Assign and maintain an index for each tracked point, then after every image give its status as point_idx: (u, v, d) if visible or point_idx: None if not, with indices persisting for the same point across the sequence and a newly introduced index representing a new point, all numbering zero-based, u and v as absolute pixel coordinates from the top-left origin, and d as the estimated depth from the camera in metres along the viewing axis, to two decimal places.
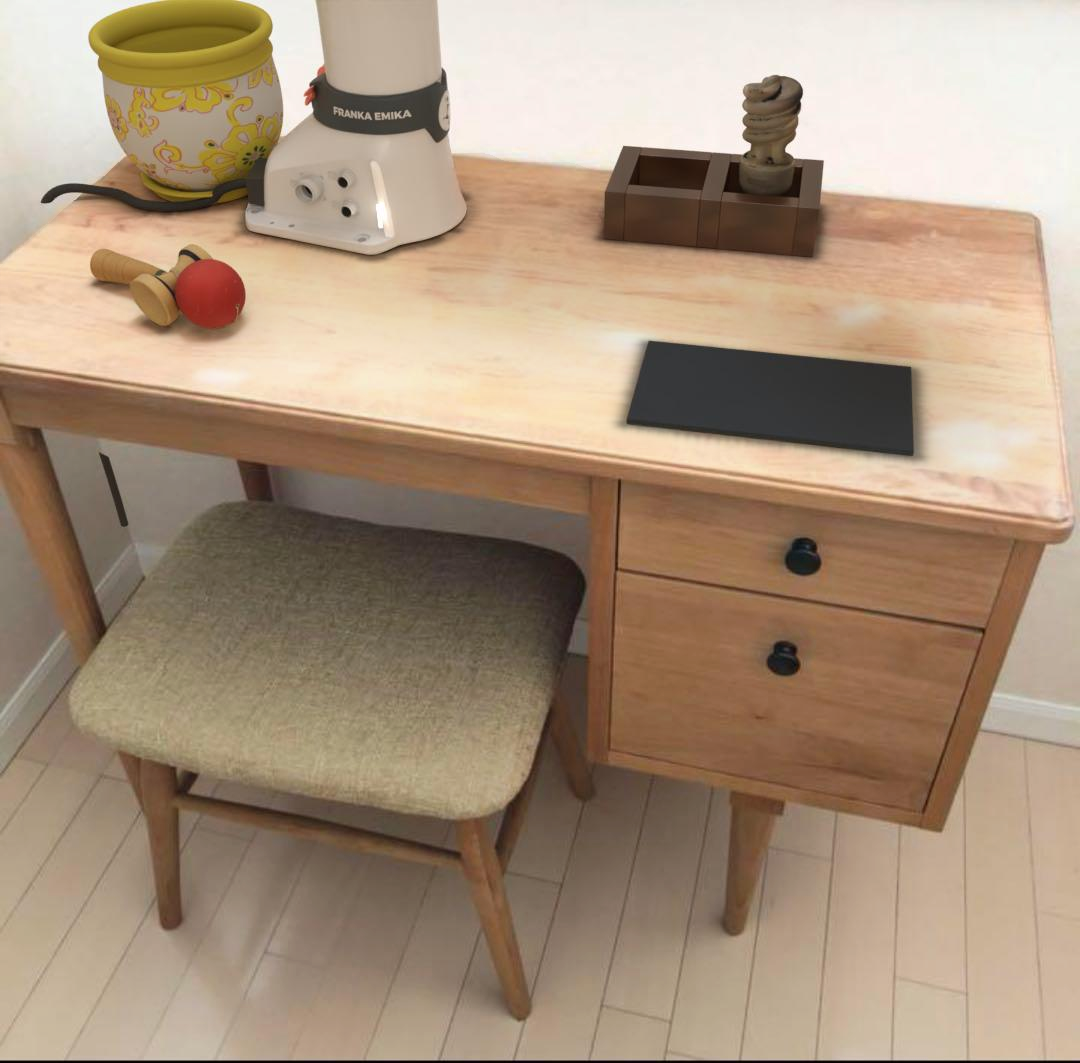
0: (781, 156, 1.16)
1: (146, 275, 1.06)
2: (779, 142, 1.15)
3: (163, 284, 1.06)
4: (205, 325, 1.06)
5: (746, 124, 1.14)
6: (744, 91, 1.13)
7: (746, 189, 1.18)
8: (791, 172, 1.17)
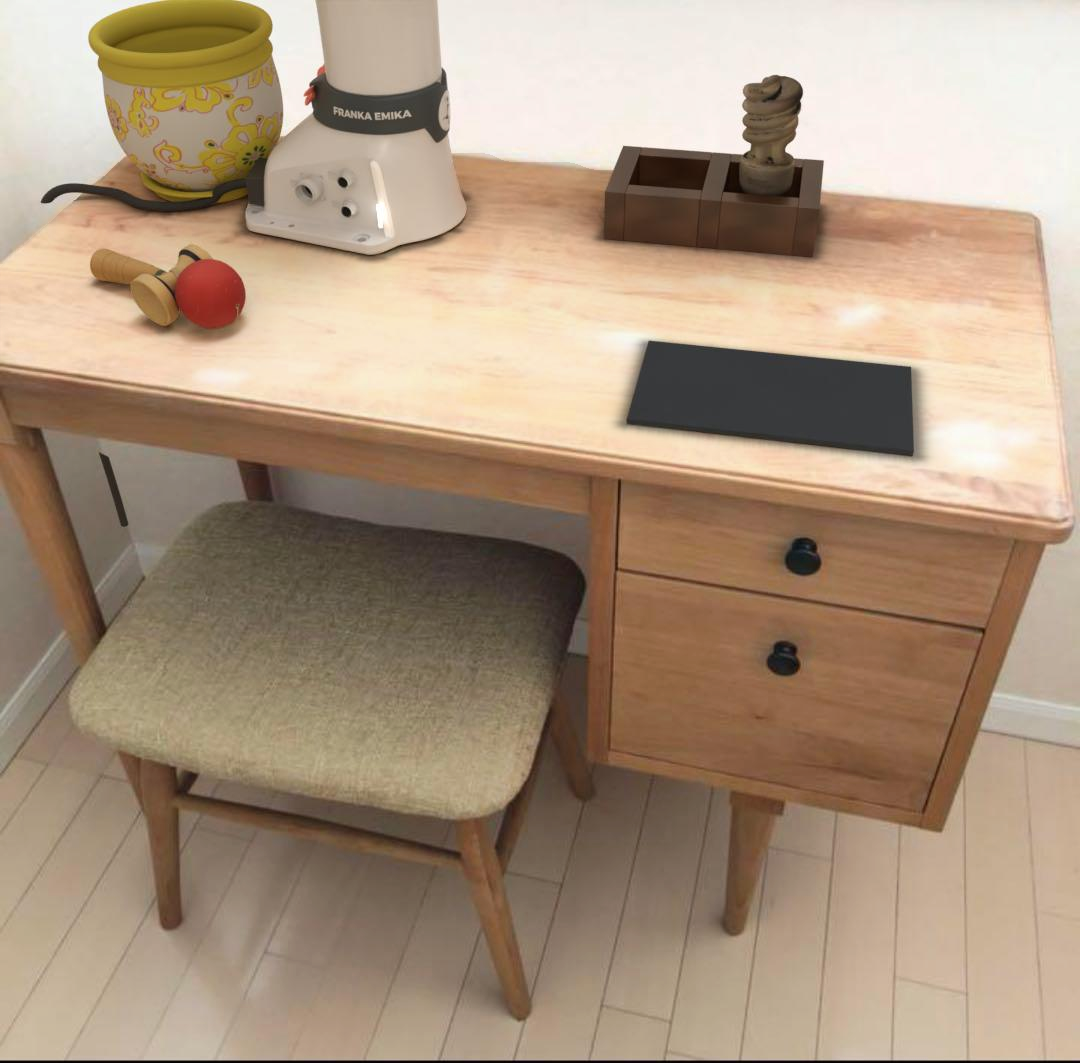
0: (781, 156, 1.16)
1: (146, 275, 1.06)
2: (779, 142, 1.15)
3: (163, 284, 1.06)
4: (205, 325, 1.06)
5: (746, 124, 1.14)
6: (744, 91, 1.13)
7: (746, 189, 1.18)
8: (791, 172, 1.17)
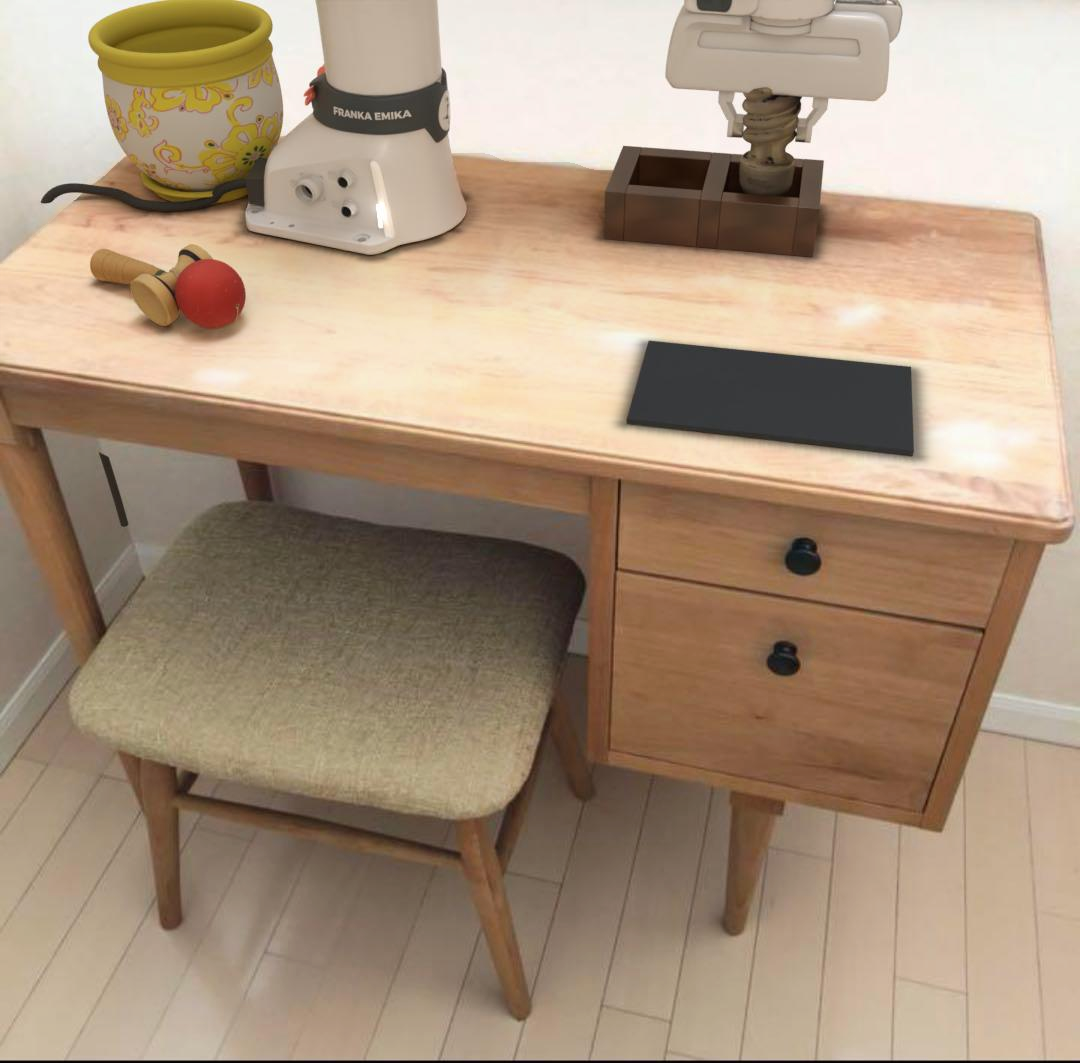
0: (781, 156, 1.16)
1: (146, 275, 1.06)
2: (779, 142, 1.15)
3: (163, 284, 1.06)
4: (205, 325, 1.06)
5: (746, 124, 1.14)
6: None
7: (746, 189, 1.18)
8: (791, 172, 1.17)
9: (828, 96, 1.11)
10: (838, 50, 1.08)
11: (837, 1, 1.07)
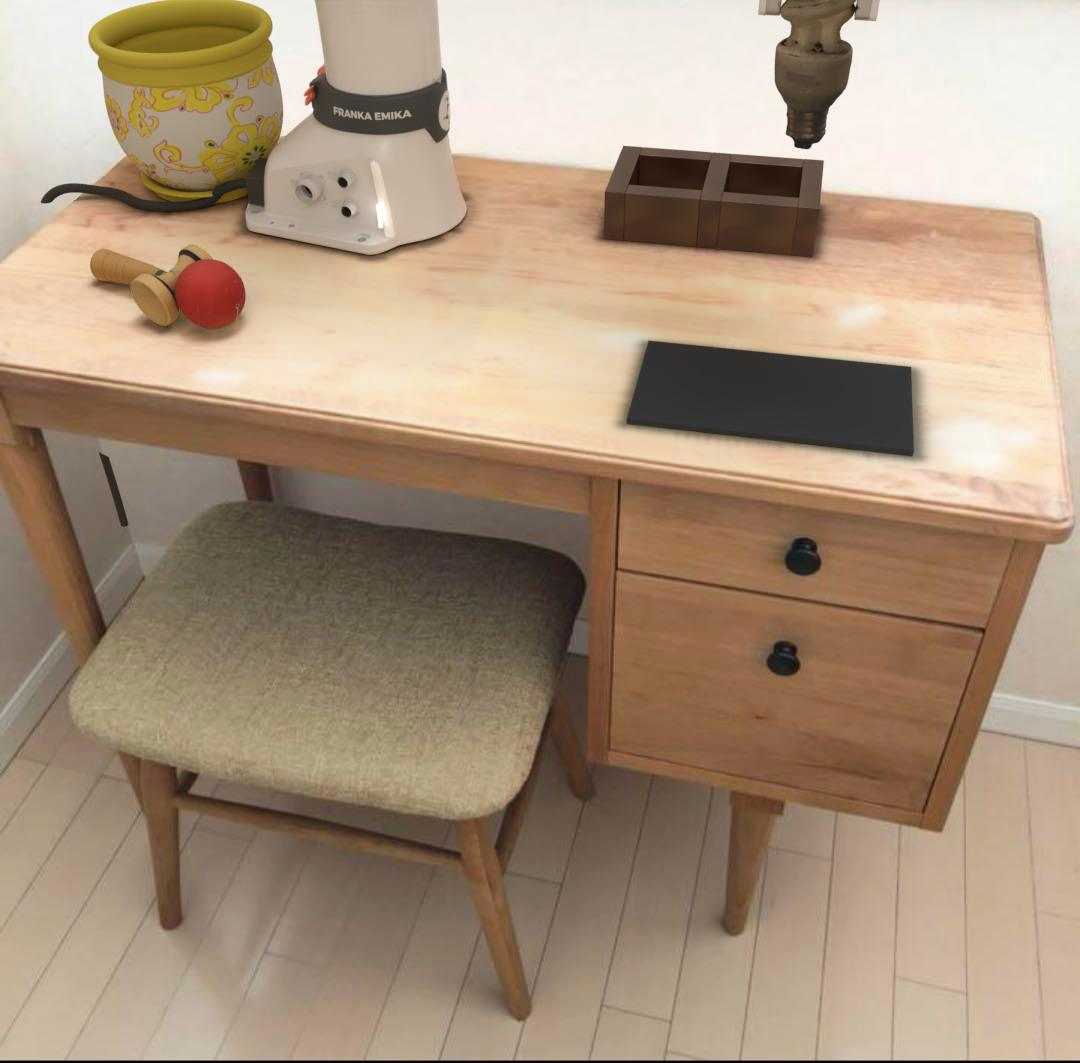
0: (834, 41, 0.83)
1: (146, 275, 1.06)
2: (832, 20, 0.82)
3: (163, 284, 1.06)
4: (205, 325, 1.06)
5: None
6: None
7: (784, 90, 0.85)
8: (848, 64, 0.83)
9: None
10: None
11: None
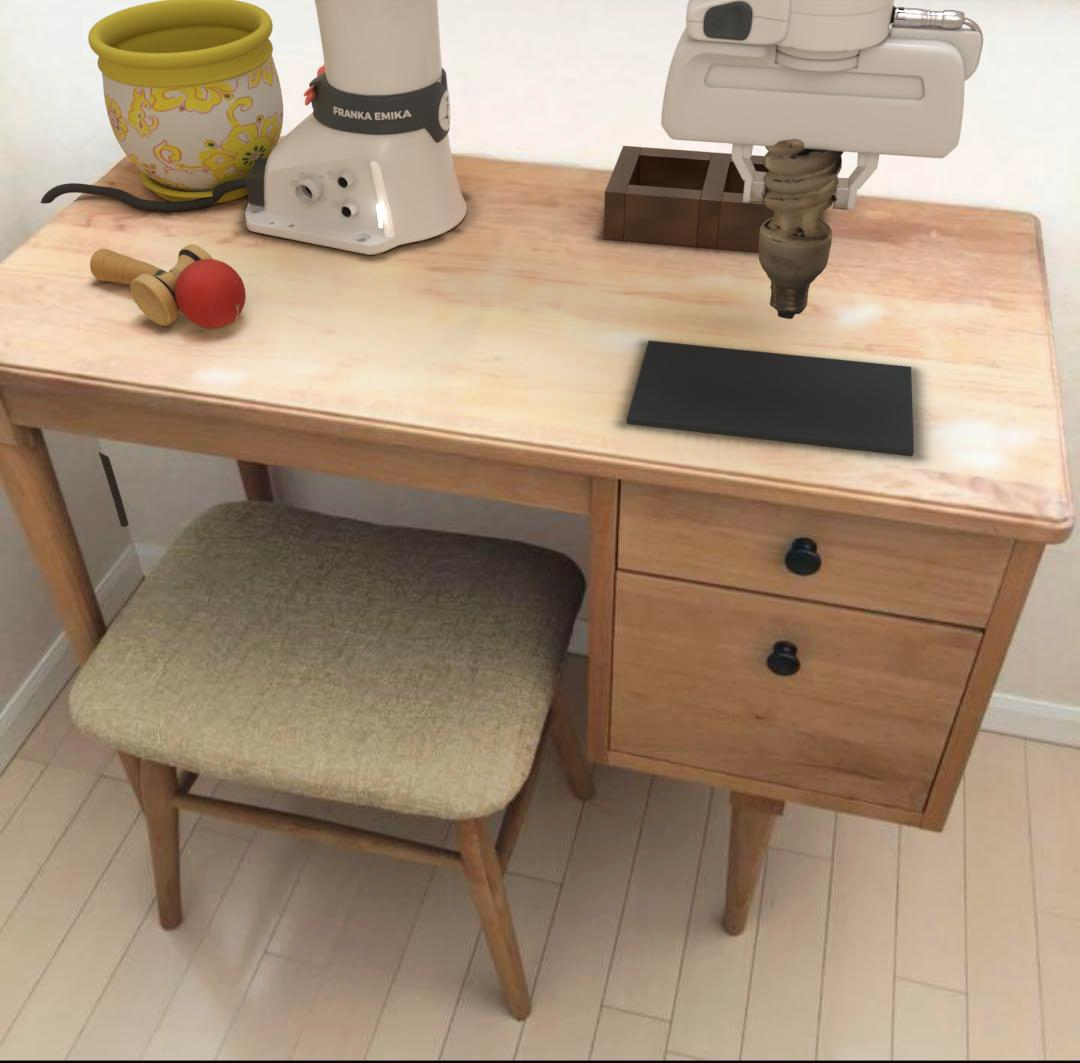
0: (814, 227, 0.88)
1: (146, 275, 1.06)
2: (812, 209, 0.87)
3: (163, 284, 1.06)
4: (205, 325, 1.06)
5: (769, 186, 0.86)
6: None
7: (768, 269, 0.90)
8: (827, 248, 0.89)
9: (879, 151, 0.83)
10: (895, 91, 0.80)
11: (894, 25, 0.79)
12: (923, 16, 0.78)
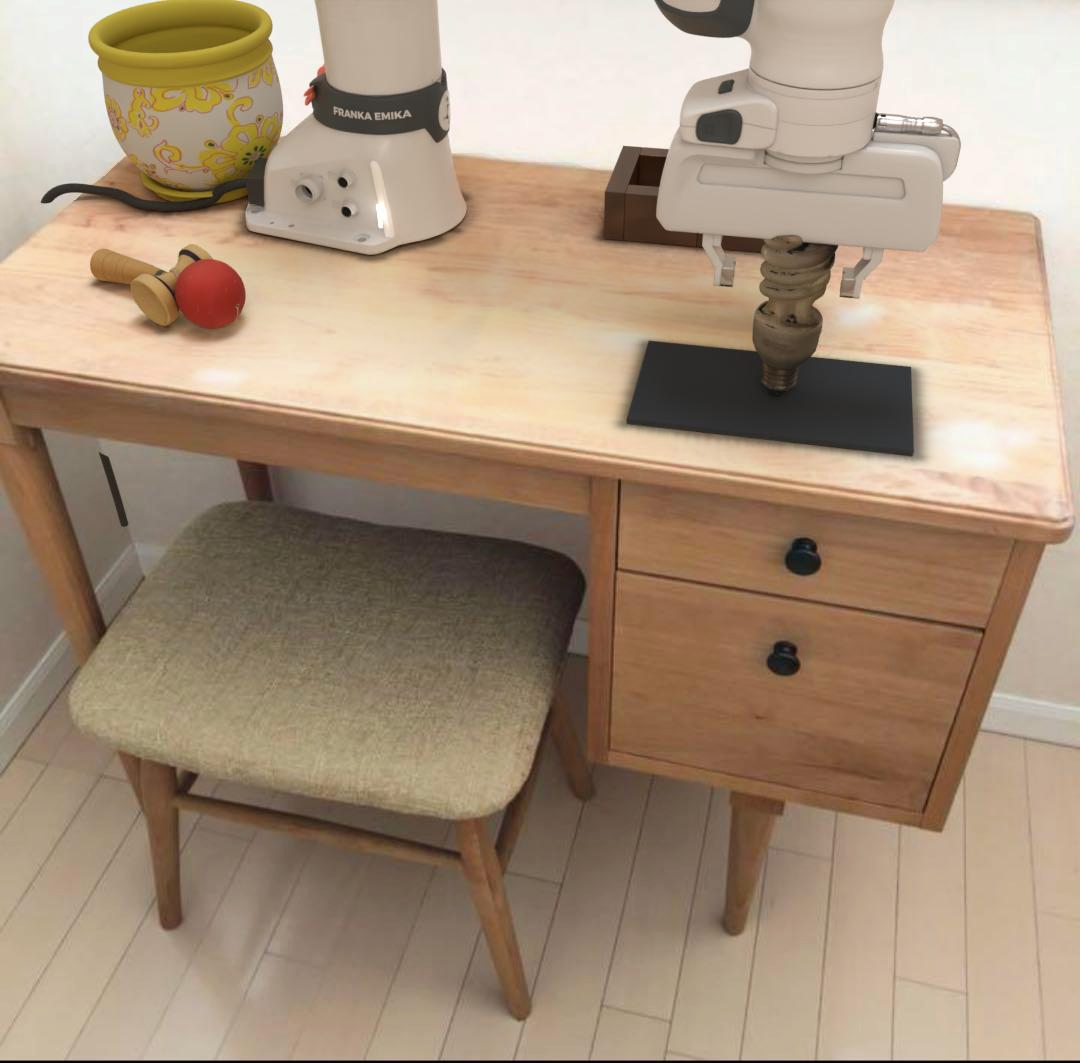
0: (807, 315, 0.93)
1: (146, 275, 1.06)
2: (805, 299, 0.92)
3: (163, 284, 1.06)
4: (205, 325, 1.06)
5: (765, 276, 0.91)
6: None
7: (761, 351, 0.94)
8: (818, 334, 0.93)
9: (863, 245, 0.87)
10: (877, 191, 0.85)
11: (876, 130, 0.83)
12: (903, 122, 0.82)
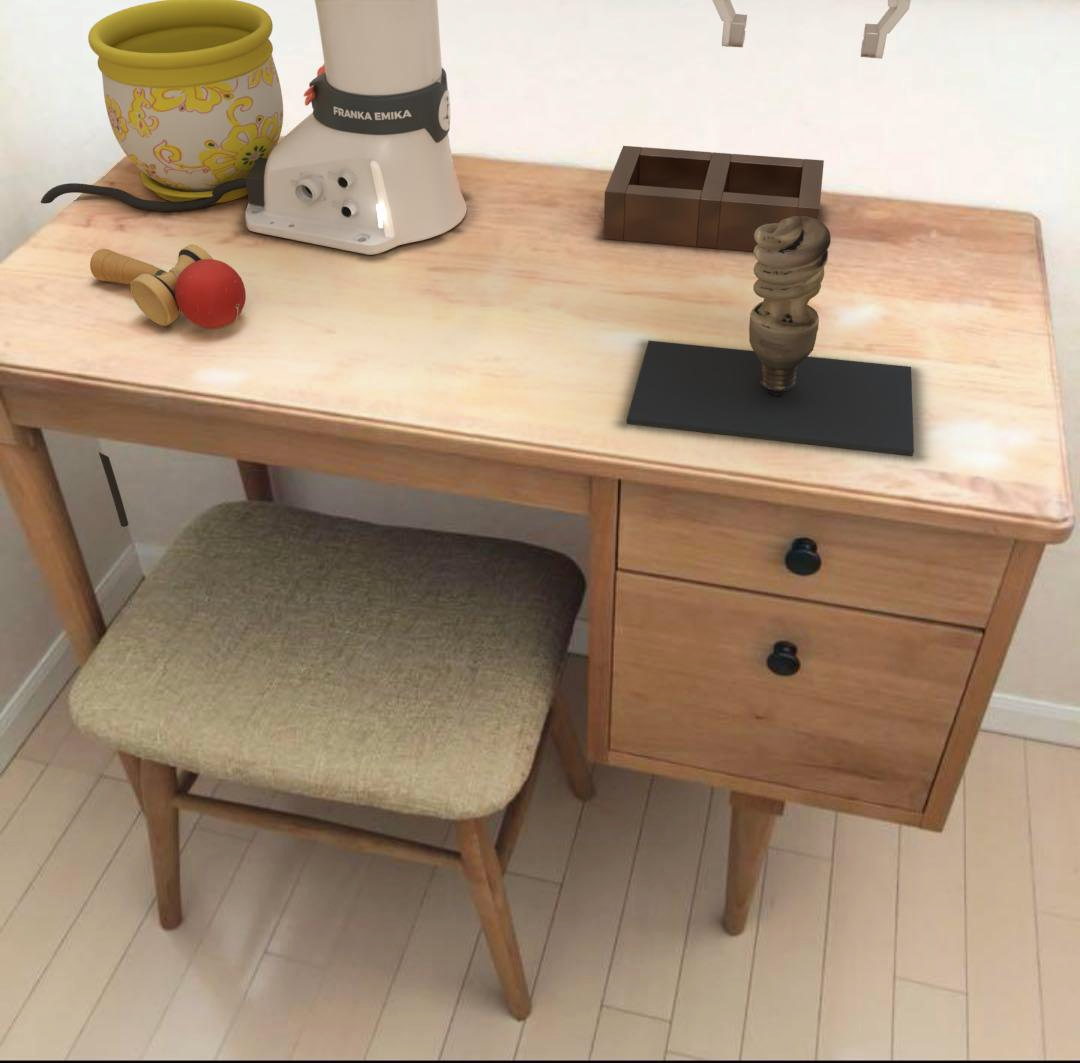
0: (802, 314, 0.93)
1: (146, 275, 1.06)
2: (800, 298, 0.92)
3: (163, 284, 1.06)
4: (205, 325, 1.06)
5: (758, 276, 0.91)
6: (756, 237, 0.89)
7: (758, 352, 0.94)
8: (814, 333, 0.93)
9: None
10: None
11: None
12: None
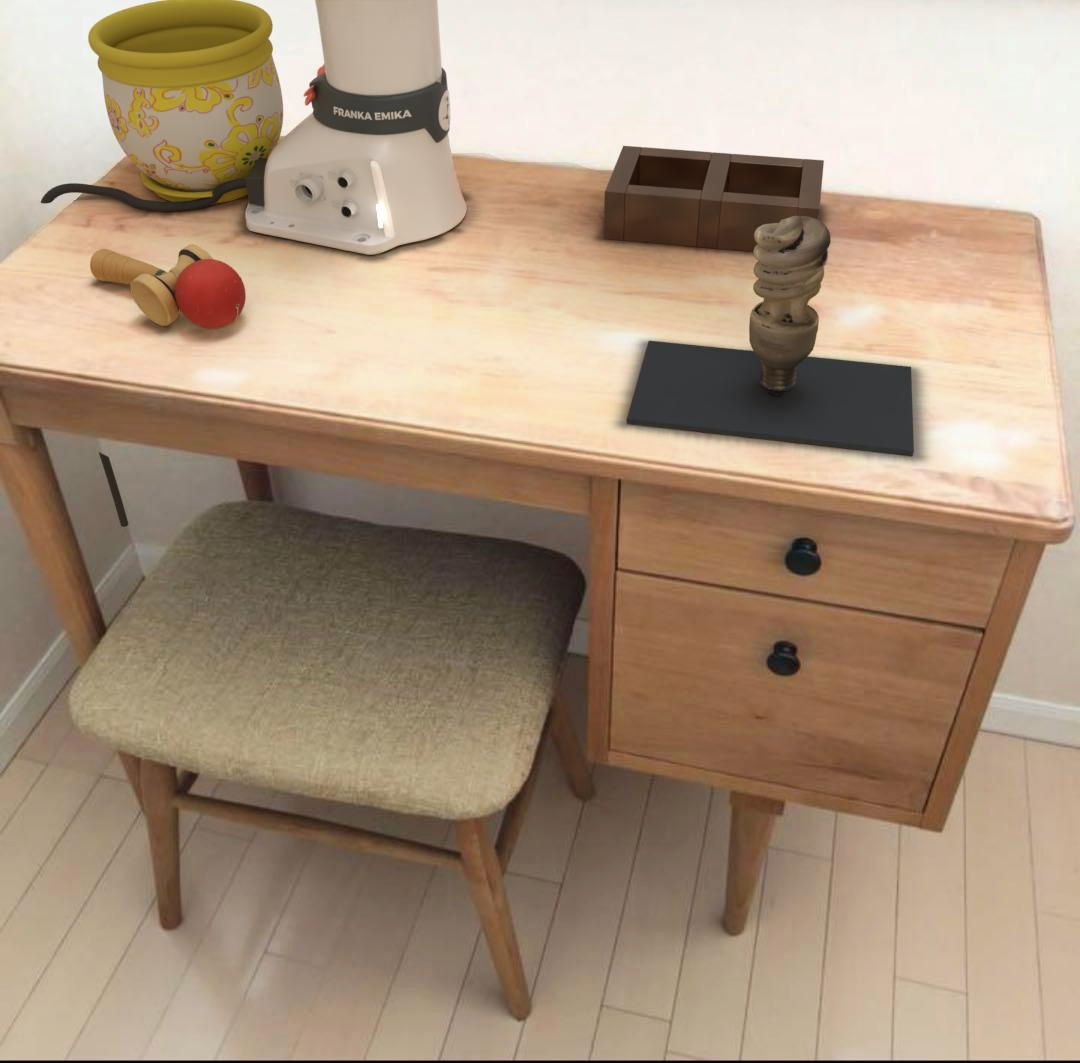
0: (802, 314, 0.93)
1: (146, 275, 1.06)
2: (800, 298, 0.92)
3: (163, 284, 1.06)
4: (205, 325, 1.06)
5: (758, 276, 0.91)
6: (756, 237, 0.89)
7: (758, 352, 0.94)
8: (814, 333, 0.93)
9: None
10: None
11: None
12: None
